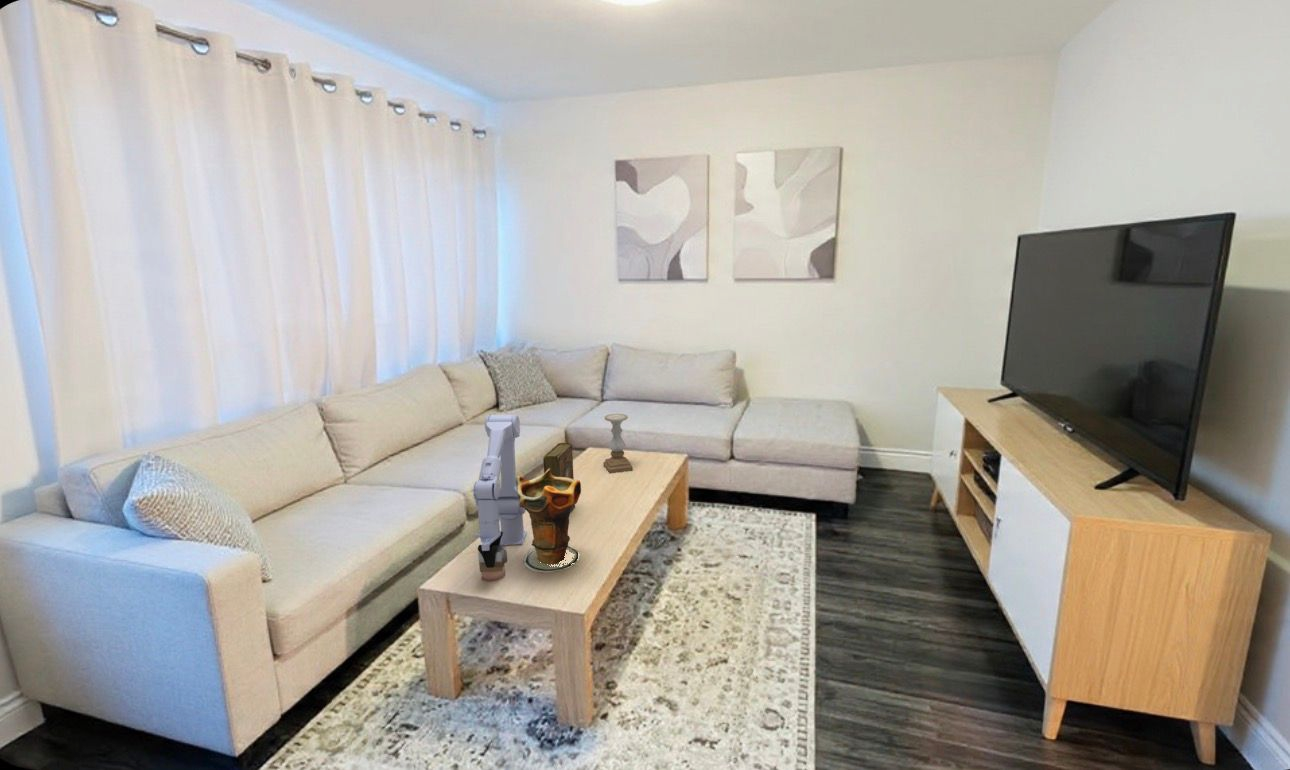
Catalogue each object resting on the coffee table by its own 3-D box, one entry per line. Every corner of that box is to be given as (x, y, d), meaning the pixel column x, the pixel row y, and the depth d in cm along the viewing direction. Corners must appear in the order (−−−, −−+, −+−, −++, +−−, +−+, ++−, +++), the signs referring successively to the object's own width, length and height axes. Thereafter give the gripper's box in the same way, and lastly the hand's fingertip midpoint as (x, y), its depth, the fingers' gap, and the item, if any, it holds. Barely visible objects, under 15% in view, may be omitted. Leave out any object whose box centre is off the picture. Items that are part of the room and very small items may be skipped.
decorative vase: (550, 534, 205) (548, 456, 198) (599, 557, 191) (599, 474, 184) (500, 558, 189) (496, 475, 182) (550, 585, 175) (547, 496, 168)
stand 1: (484, 570, 183) (483, 562, 182) (507, 568, 183) (506, 561, 183) (479, 582, 176) (478, 574, 176) (503, 580, 176) (502, 573, 176)
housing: (482, 564, 181) (481, 546, 180) (504, 563, 182) (503, 544, 180) (479, 572, 177) (478, 553, 176) (502, 570, 177) (500, 552, 176)
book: (562, 505, 230) (559, 442, 225) (576, 506, 229) (573, 443, 224) (547, 523, 214) (543, 456, 209) (561, 524, 213) (558, 457, 208)
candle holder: (603, 465, 273) (601, 414, 268) (626, 462, 276) (624, 412, 271) (609, 473, 263) (607, 420, 258) (633, 470, 266) (631, 418, 261)
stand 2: (486, 555, 192) (486, 548, 191) (509, 554, 192) (508, 547, 192) (482, 566, 185) (481, 559, 184) (505, 565, 185) (504, 558, 185)
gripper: (480, 509, 183) (483, 550, 186) (469, 530, 169) (473, 574, 172) (503, 508, 183) (506, 549, 186) (494, 529, 169) (498, 573, 172)
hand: (492, 561), depth 179 cm, fingers open, 6 cm apart
